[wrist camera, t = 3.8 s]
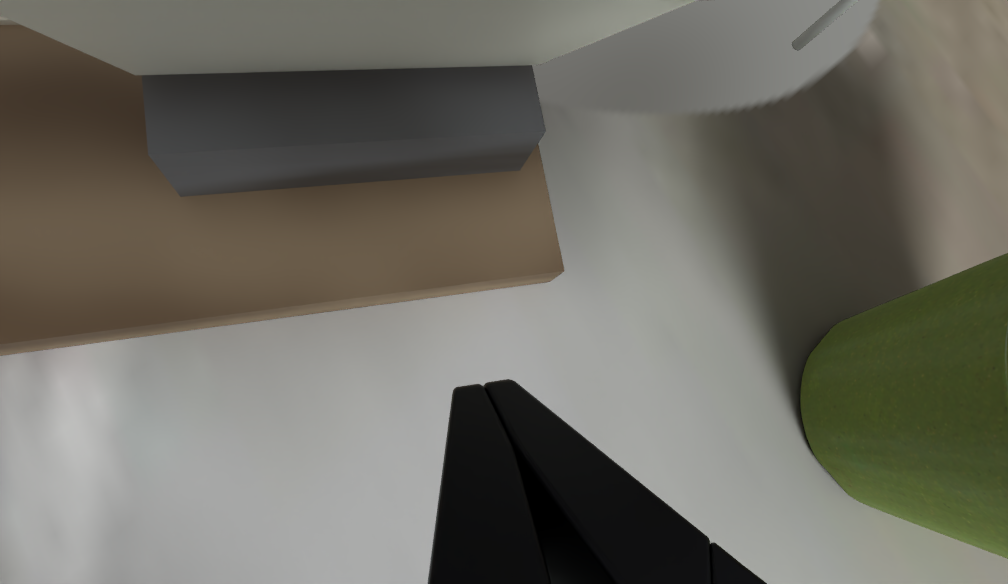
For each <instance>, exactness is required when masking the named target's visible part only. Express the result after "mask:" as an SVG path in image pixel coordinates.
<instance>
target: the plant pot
mask: <svg viewBox="0 0 1008 584" xmlns="http://www.w3.org/2000/svg"><path fill="white" fill-rule="evenodd" d="M800 407H801V415H802V420H803V425H804V429H805V433H806V436H807V439H808V442H809V444H810V447H811V449H812V451H813V453H814V455H815V457H816V459H817V460H818V461H819V463H820V464H821V465H822V466H823V467H824V468H825V469H826V470H827V471H828V472H829V473H830V474H831V475H832V477H833V478H834V479H835V480H836V481H837V483H838V484H839V485H840V486H841V487H842V488H843V490H844V491H845V492H846V493H847V494H848V495H849V496H851V497H852V498H854V499H855V500H857V501H859V502H861V503H863V504H866V505H868V506H871V507H873V508H876V509H878V510H881V511H883V512H886V513H888V514H891V515H893V516H896V517H899V518H901V519H904V520H906V521H909V522H912V523H914V524H917V525H920V526H922V527H925V528H928V529H930V530H933V531H936V532H938V533H941V534H943V535H946V536H949V537H951V538H954V539H957V540H959V541H962V542H965V543H967V544H970V545H973V546H975V547H978V548H981V549H983V550H986V551H989V552H991V553H994V554H997V555H999V556H1002V557H1005V558H1007V559H1008V253H1007V254H1004V255H1002V256H999V257H997V258H994V259H991V260H989V261H986V262H984V263H981V264H979V265H977V266H974V267H972V268H969V269H967V270H965V271H962V272H960V273H957V274H955V275H953V276H950V277H948V278H945V279H943V280H940V281H938V282H936V283H933V284H931V285H928V286H926V287H924V288H921V289H919V290H916V291H914V292H911V293H909V294H906V295H904V296H902V297H899V298H897V299H894V300H892V301H889V302H887V303H884V304H882V305H879V306H877V307H874V308H872V309H869V310H867V311H865V312H862V313H860V314H857V315H855V316H853V317H850V318H848V319H845V320H843V321H841V322H839V323H838V324H836V325H834V326H833V327H832V328H831V330H830V331H829V332H828V333H827V334H826V335H825V337H824V338H823V339H822V340H821V341H820V343H819V344H818V345H817V346H816V347H815V349H814V350H813V351H812V352H811V354H810V355H809V357H808V359H807V362H806V365H805V368H804V371H803V376H802V383H801V396H800Z"/></svg>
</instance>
